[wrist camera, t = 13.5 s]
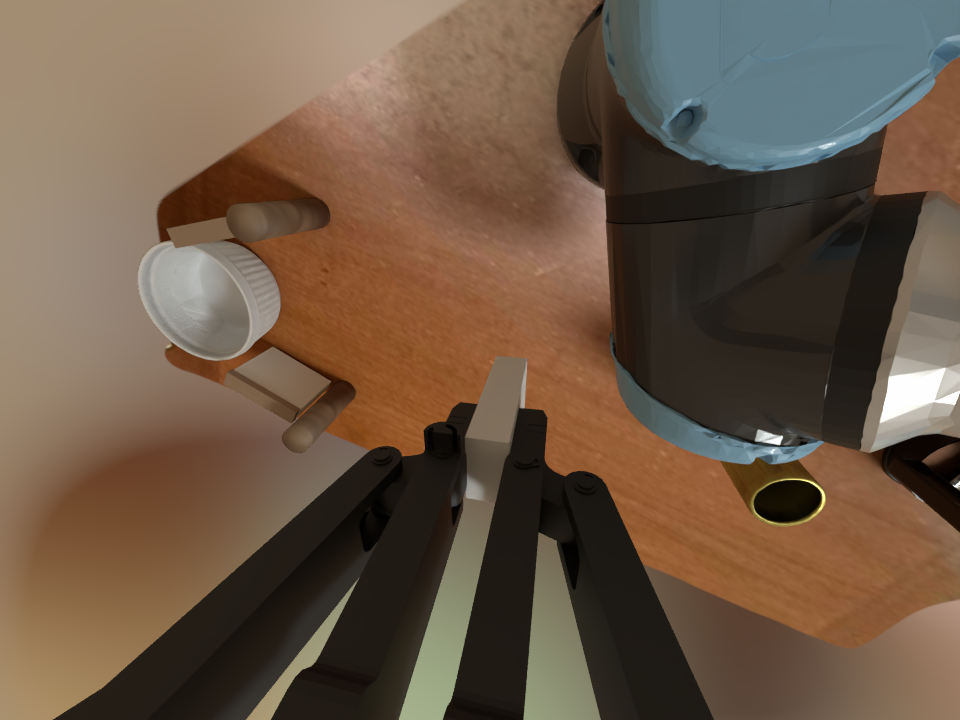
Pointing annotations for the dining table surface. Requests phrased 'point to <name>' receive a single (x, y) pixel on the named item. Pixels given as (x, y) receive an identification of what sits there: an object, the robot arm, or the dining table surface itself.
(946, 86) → the dining table surface
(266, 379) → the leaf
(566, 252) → the dining table surface
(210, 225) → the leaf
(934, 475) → the french press
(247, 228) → the gate posts
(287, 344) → the dining table surface
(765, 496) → the vase
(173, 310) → the ramekin
